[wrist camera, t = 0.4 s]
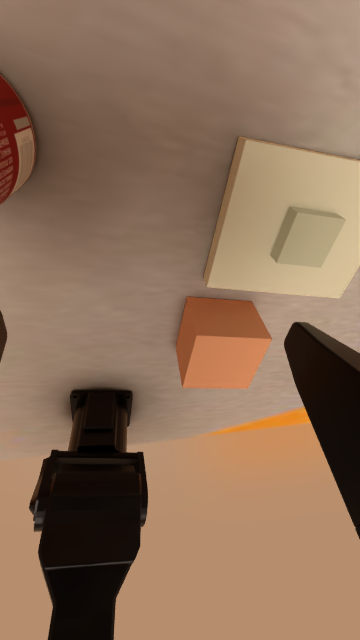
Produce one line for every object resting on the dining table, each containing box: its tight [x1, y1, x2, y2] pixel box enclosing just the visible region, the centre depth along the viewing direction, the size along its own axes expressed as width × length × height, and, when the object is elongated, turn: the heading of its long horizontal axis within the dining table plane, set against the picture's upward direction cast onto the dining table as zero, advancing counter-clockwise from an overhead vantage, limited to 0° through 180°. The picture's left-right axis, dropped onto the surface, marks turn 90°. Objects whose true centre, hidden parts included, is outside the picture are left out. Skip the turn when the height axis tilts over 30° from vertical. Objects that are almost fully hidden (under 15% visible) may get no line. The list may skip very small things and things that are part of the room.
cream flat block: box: [203, 136, 360, 298], centre depth 21 cm, size 10×12×3 cm
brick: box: [176, 297, 272, 388], centre depth 25 cm, size 6×6×5 cm
